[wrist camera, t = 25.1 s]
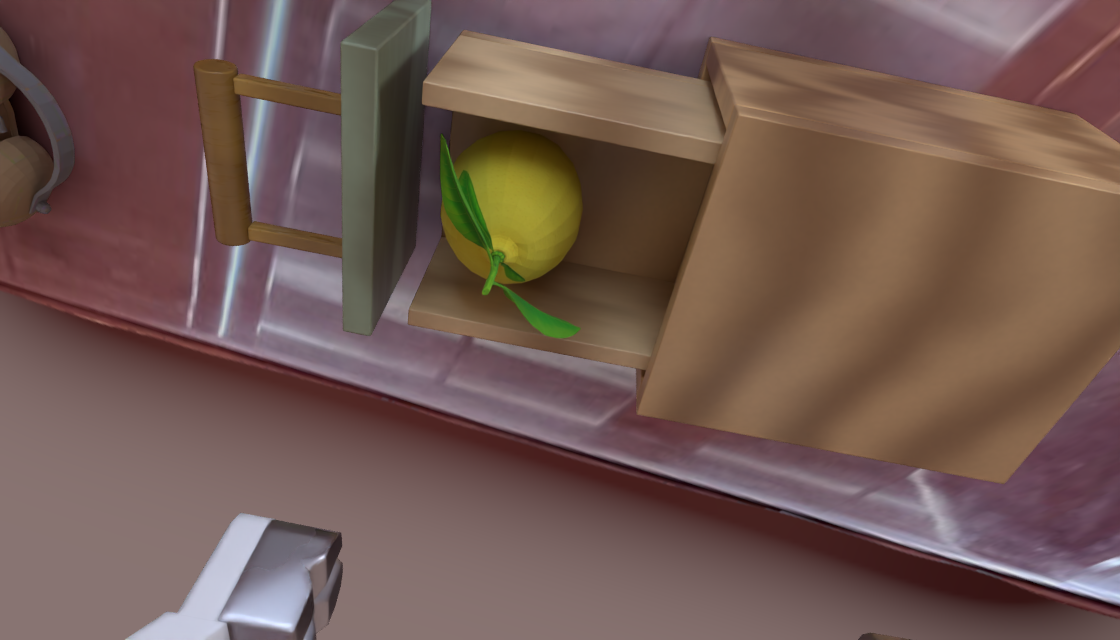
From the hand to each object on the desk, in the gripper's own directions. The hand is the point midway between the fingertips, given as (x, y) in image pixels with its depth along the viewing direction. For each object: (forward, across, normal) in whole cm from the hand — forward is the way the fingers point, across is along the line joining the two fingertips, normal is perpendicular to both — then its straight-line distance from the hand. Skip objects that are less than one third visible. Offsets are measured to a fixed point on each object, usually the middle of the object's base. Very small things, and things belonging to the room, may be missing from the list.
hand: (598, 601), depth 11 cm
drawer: (+23, +5, +3) cm, 24 cm away
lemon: (+22, +4, +3) cm, 23 cm away
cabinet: (+24, -11, +3) cm, 27 cm away
